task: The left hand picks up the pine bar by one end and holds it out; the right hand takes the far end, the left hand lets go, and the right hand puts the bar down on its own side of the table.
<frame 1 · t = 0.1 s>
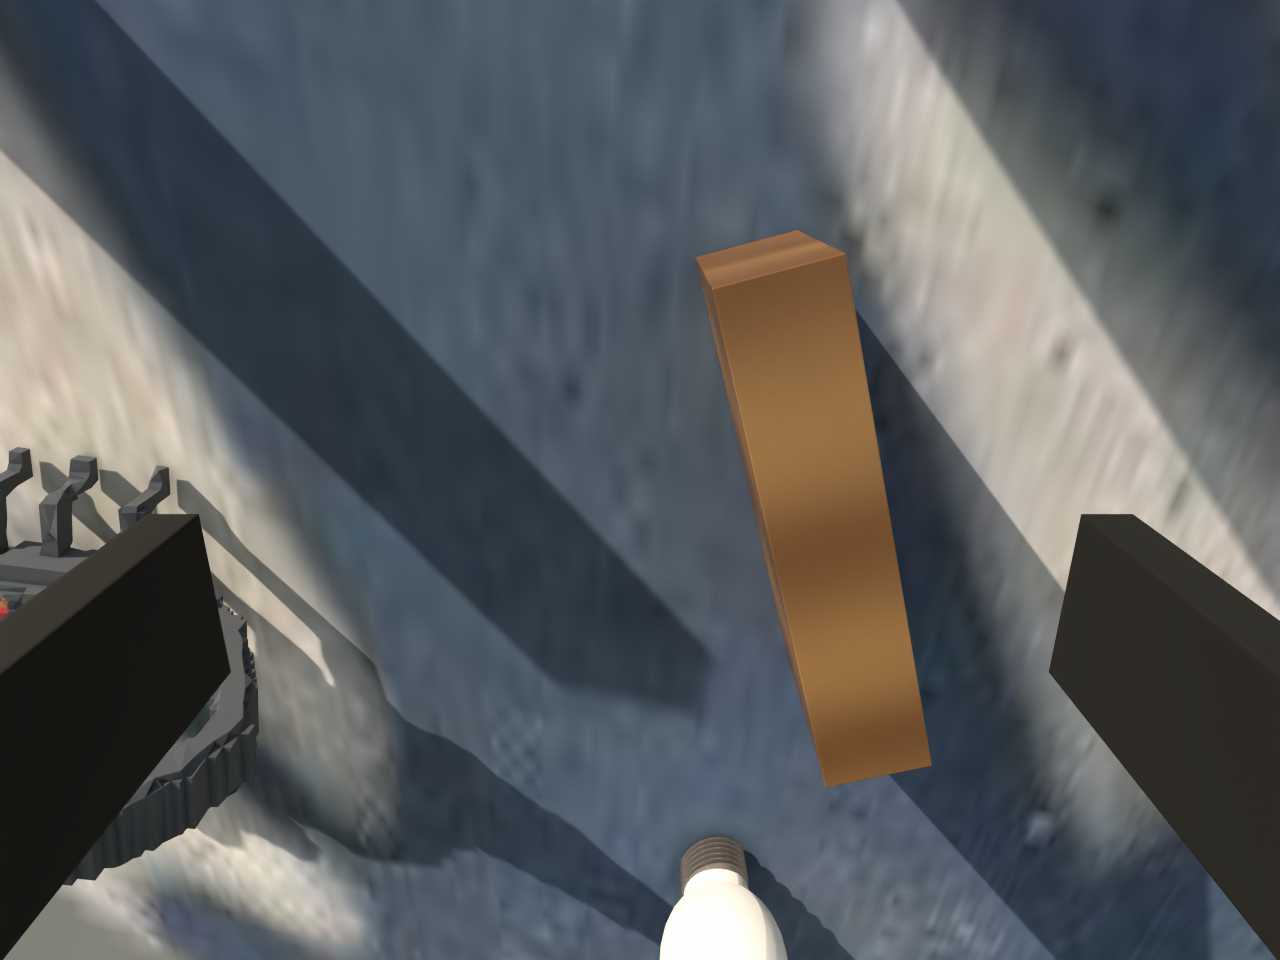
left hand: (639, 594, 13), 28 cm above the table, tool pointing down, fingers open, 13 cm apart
light bulb: (712, 860, 51), on the table
bar: (793, 470, 42), on the table
toy: (78, 562, 44), on the table
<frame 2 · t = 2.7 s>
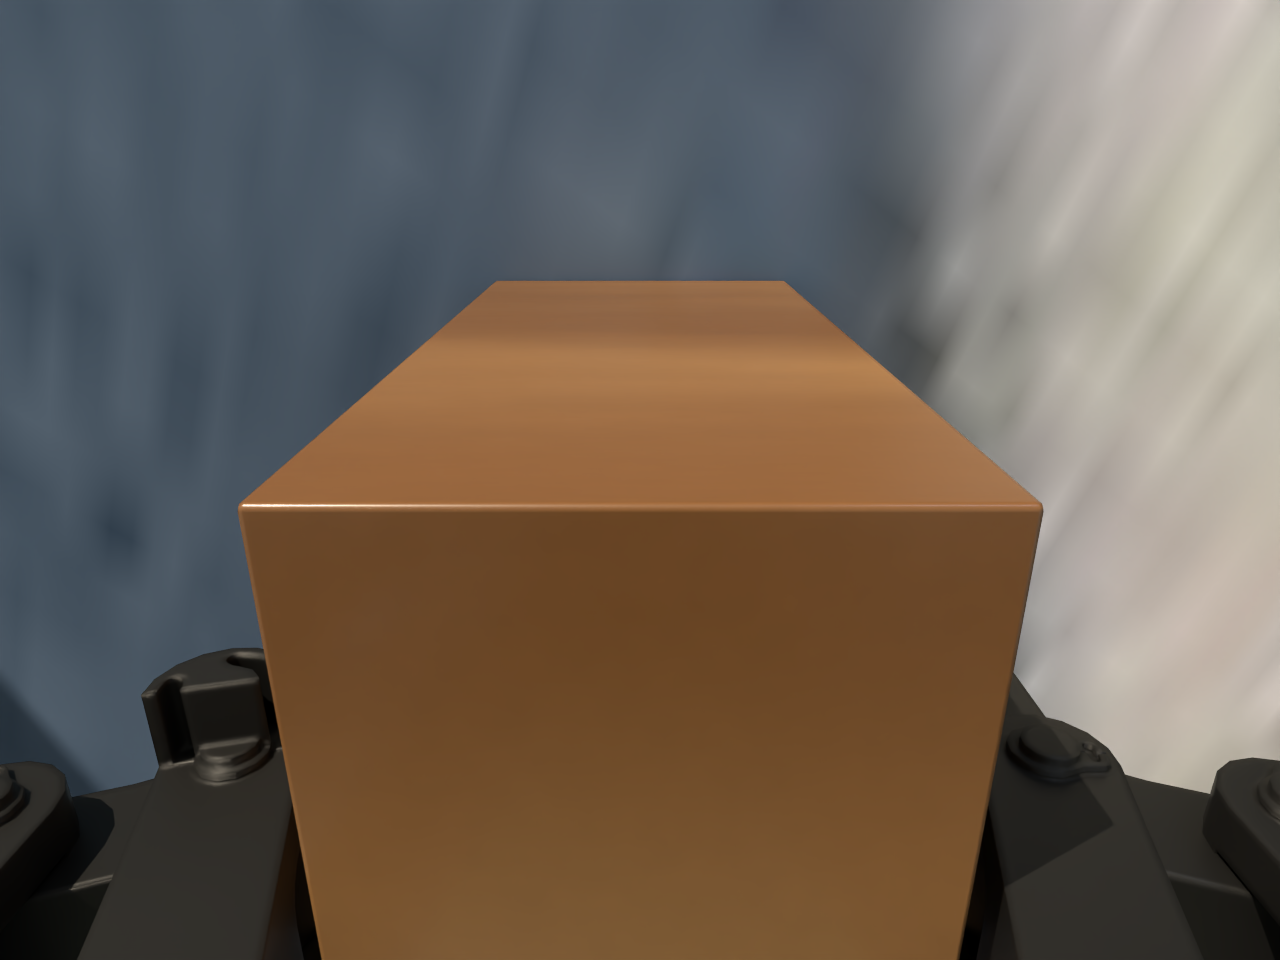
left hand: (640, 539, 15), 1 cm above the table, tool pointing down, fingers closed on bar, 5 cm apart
bar: (640, 825, 18), on the table, touching left hand
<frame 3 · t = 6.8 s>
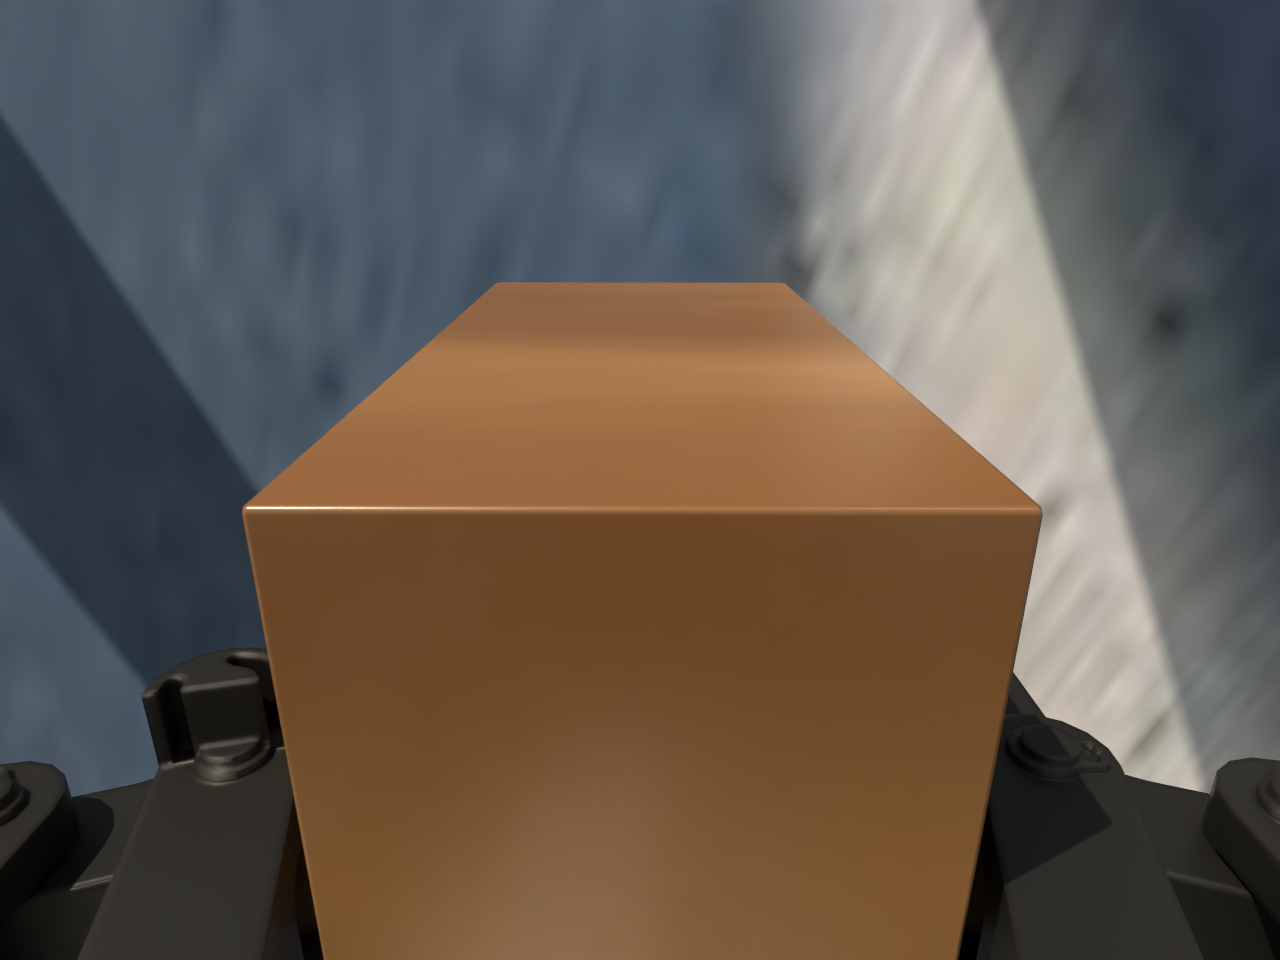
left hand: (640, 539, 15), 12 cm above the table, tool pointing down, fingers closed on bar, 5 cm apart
bar: (639, 826, 18), point 11 cm above the table, touching left hand, right hand
when the left hand's fingers open (12 cm above the table, at t = 7.7 s): bar stays where it is, held by the right hand.
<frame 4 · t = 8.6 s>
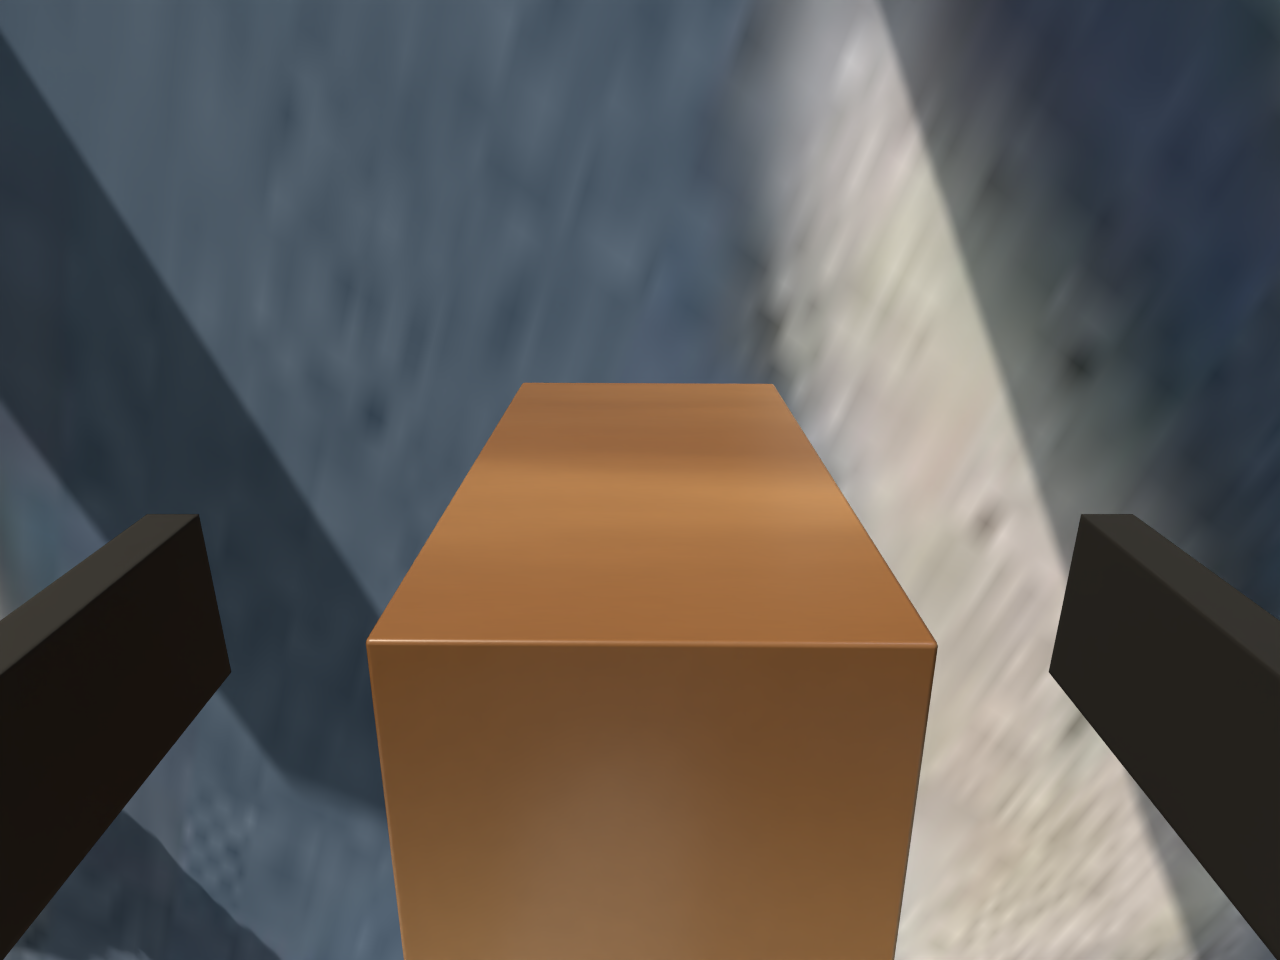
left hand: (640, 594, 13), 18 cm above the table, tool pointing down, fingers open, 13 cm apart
bar: (644, 859, 19), point 14 cm above the table, touching right hand
when the right hand's fingers open (5 cm above the table, at t = 13.2 s): bar drops 1 cm, on the table.
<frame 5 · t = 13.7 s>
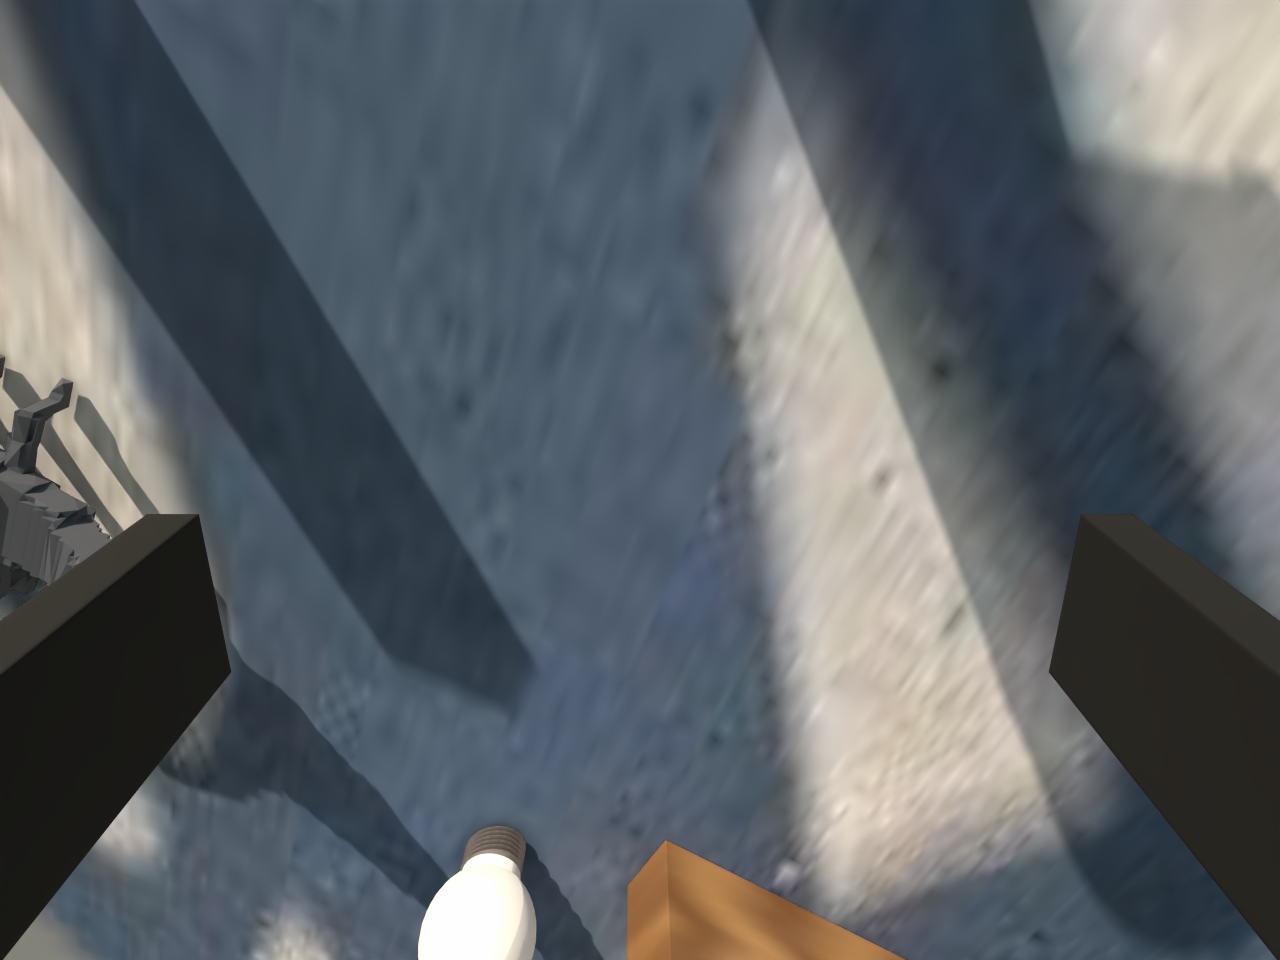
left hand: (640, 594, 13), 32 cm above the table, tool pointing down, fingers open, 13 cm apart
light bulb: (497, 846, 56), on the table
bar: (782, 929, 58), on the table
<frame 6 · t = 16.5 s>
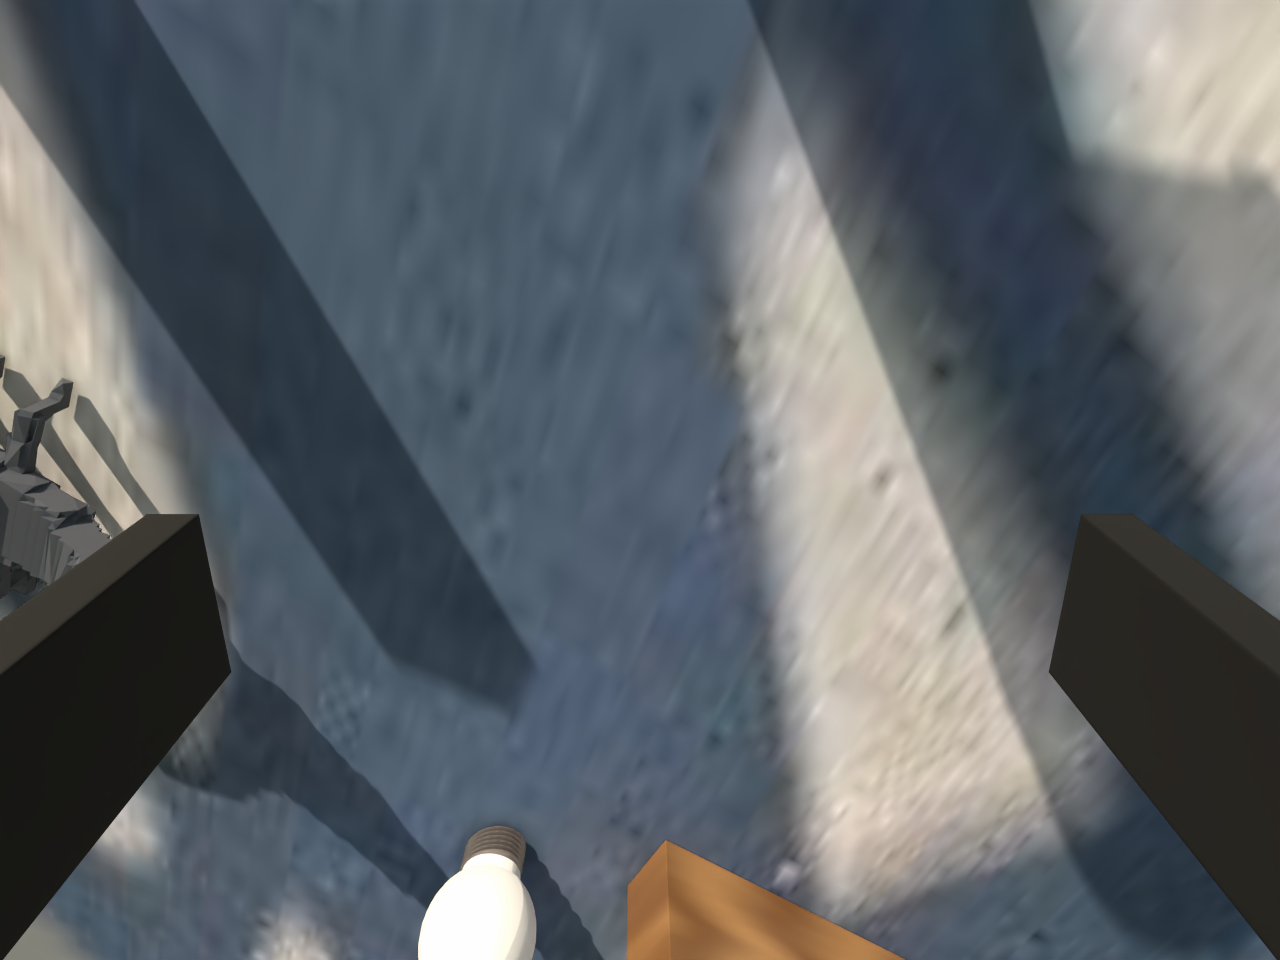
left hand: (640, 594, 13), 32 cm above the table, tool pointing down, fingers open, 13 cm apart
light bulb: (497, 846, 56), on the table
bar: (782, 929, 58), on the table
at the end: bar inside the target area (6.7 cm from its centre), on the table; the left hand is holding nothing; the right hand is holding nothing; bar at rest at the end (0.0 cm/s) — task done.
